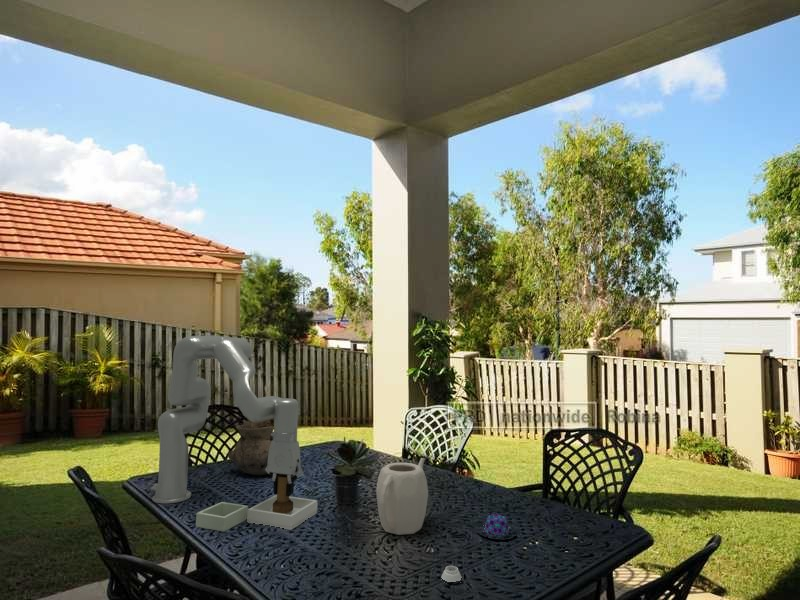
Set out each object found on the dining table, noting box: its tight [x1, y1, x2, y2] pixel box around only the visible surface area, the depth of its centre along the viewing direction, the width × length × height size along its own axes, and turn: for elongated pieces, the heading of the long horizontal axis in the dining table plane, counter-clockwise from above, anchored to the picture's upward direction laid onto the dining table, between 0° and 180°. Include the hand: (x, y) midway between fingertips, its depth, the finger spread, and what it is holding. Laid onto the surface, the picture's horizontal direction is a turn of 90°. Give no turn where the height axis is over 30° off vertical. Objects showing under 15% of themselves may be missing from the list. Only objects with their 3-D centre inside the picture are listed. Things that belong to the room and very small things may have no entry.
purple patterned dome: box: [483, 513, 510, 535], centre depth 152 cm, size 12×12×5 cm
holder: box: [195, 501, 249, 532], centre depth 158 cm, size 10×12×4 cm
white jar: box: [440, 565, 463, 582], centre depth 123 cm, size 5×3×5 cm
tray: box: [246, 494, 318, 531], centre depth 163 cm, size 16×16×4 cm
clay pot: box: [227, 420, 274, 476], centre depth 215 cm, size 25×24×22 cm
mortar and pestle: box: [272, 474, 293, 514], centre depth 163 cm, size 7×6×18 cm
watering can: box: [375, 457, 429, 536], centre depth 156 cm, size 16×27×19 cm, turn 150°
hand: (283, 493), depth 163 cm, fingers closed on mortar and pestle, 4 cm apart
